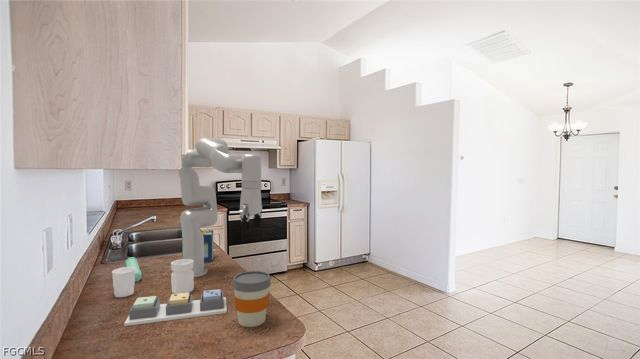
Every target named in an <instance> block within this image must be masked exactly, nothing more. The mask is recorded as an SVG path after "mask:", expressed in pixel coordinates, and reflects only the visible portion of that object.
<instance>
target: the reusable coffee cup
mask: <svg viewBox="0 0 640 359" xmlns="http://www.w3.org/2000/svg"><path fill="white" fill-rule="evenodd" d="M270 287H271V276H270V274H269V272H265V271H260V270H259V271H258V270H253V271H252V270H251V271H249V270H248V271H244V272H240V273H238V274H236V275H235V276H233V282H232V289H233V291H234V293H233V301H234V308H235V310H236V313H237V314H236V315H237V321H238V324H239V326H241V327H246V328H252V327H253V328H254V327H258V326H260V325H262V324H263V323H264V322H265V321H266V315H267V308H268V307H269V301H270V295H271V292H270Z"/></svg>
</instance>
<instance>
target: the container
mask: <svg viewBox="0 0 640 359" xmlns="http://www.w3.org/2000/svg"><path fill="white" fill-rule="evenodd" d="M124 267H134V268H135V283H137V282H140V280H142V278H143V276H142V275H143V274H142V271H141V269H140V266H139V263H138V259H137V258H136V257H135V256H132V257H128V258H127V259H126V260H125V261H124Z"/></svg>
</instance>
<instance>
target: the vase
mask: <svg viewBox="0 0 640 359" xmlns="http://www.w3.org/2000/svg"><path fill="white" fill-rule="evenodd" d="M192 268H193V260H191V259H182V258H181V259H176V260H173V261H172V262H171V263H170V269H171V271H172V273H171V276H170V282H171V283H170V285H171V293H172V294H178V293H188V292H189V293H190V292H193V290H194V289H195V284H194V283H195V282H194V279H195V277H194V272H193V271H192V270H191V269H192Z"/></svg>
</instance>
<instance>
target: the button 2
mask: <svg viewBox="0 0 640 359" xmlns="http://www.w3.org/2000/svg"><path fill="white" fill-rule="evenodd" d="M189 295H190V292H188V293H178V294H174V293H172V294H171V295H170V297H171V298H170V300H169V306H170V305H179V304H188V303H189Z"/></svg>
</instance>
